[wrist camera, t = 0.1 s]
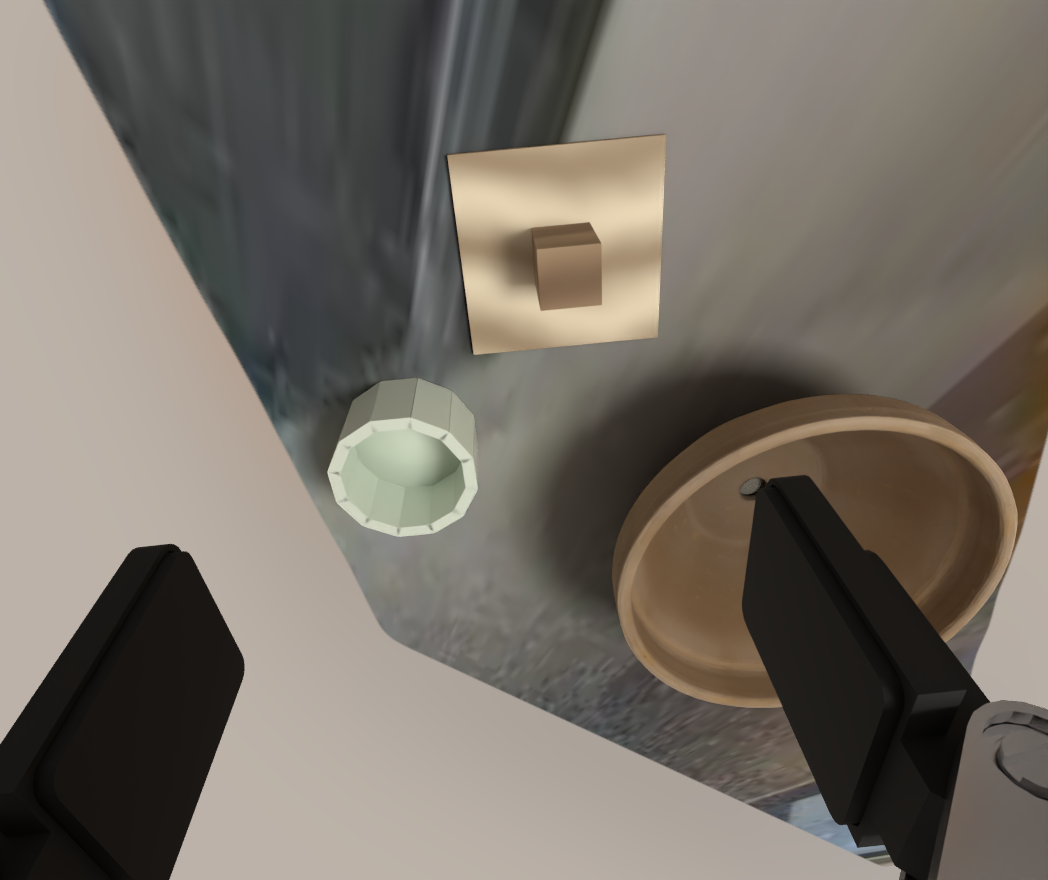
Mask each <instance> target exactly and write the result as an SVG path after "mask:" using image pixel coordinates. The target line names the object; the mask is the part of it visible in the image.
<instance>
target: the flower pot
mask: <svg viewBox="0 0 1048 880" xmlns="http://www.w3.org/2000/svg"><path fill="white" fill-rule="evenodd" d="M798 475H807V476H809V477H810V478H811V479H812V480H813V481H814V483H815V484H816V485H817V487H818V488H819V490H820V491H821V492H822V494H823V495H824V496H825V498H826V499H827V500H828V502H829V503H830V504H831V506H832V507H833V509H834V510H835V511H836V513H837V514H838V515H839V517H840V518H841V519H842V521H843V522H844V523H845V525H846V526H847V528H848V529H849V530H850V532H851V533H852V534H853V536H854V537H855V538H856V540H857V541H858V542H859V544H860V545H861V547H862V548H863V549H864V550H870V551H872V552H874V553H876V554H877V555H878V556H879V557H880V558H881V559H882V560H883V561H884V563H885V564H886V565H887V567H888V568H889V569H890V571H891V572H892V573H893V575H894V576H895V577H896V579H897V580H898V581H899V582H900V584H901V585H902V586H903V588H904V589H905V590H906V592H907V593H908V594H909V596H910V597H911V598H912V600H913V601H914V602H915V604H916V605H917V606H918V608H919V609H920V610H921V612H922V613H923V614H924V615H925V617H926V618H927V619H928V621H929V622H930V623H931V625H932V626H933V627H934V629H935V630H936V631H937V633H938V634H939V635H940V637H941V638H942V639H943V641H944V642H946V641H948V640H949V639H950V638H952V637H953V636H954V635H955V634H956V633H957V632H958V631H959V630H960V629H961V628H962V627H963V626H965V625H966V624H967V623H968V622H969V621H970V619H971V618H972V617H973V616H974V615H975V614H976V613H977V612H978V611H979V609H980V608H981V607H982V606H983V605H984V603H985V602H986V601H987V600H988V598H989V597H990V595H991V594H992V592H993V591H994V589H995V588H996V586H997V584H998V583H999V581H1000V579H1001V577H1002V576H1003V574H1004V572H1005V569H1006V567H1007V565H1008V562H1009V559H1010V556H1011V553H1012V550H1013V546H1014V542H1015V536H1016V530H1017V509H1016V505H1015V500H1014V497H1013V494H1012V491H1011V488H1010V486H1009V483H1008V481H1007V479H1006V477H1005V475H1004V474H1003V472H1002V470H1001V469H1000V468H999V467H998V465H997V464H996V463H995V462H994V461H993V460H992V459H991V458H990V457H989V455H988V454H987V453H985V452H984V451H983V450H982V449H981V448H980V447H979V446H978V445H977V444H976V443H975V442H974V441H973V440H972V439H970V438H969V437H968V436H966V435H965V434H964V433H962V432H961V431H960V430H958V429H957V428H955V427H954V426H953V425H951V424H950V423H948V422H947V421H945V420H944V419H942V418H941V417H939V416H938V415H936V414H934V413H932V412H930V411H928V410H926V409H923V408H921V407H919V406H916V405H913V404H910V403H908V402H905V401H901V400H897V399H892V398H888V397H881V396H874V395H863V394H832V395H820V396H813V397H806V398H801V399H796V400H791V401H786V402H783V403H779V404H776V405H772V406H769V407H766V408H763V409H760V410H757V411H754V412H751V413H748V414H745V415H742V416H740V417H737V418H735V419H732V420H730V421H728V422H726V423H724V424H722V425H720V426H718V427H716V428H715V429H713V430H711V431H710V432H708V433H706V434H705V435H703V436H702V437H701V438H699V439H698V440H696V441H695V442H694V443H692V444H691V445H690V446H689V447H688V448H686V449H685V450H684V451H682V452H681V453H680V454H679V455H678V456H676V457H675V458H674V459H673V460H672V461H671V462H669V463H668V464H667V465H666V466H665V467H664V468H663V469H662V470H661V471H660V472H659V473H658V474H657V475H656V476H655V477H654V478H653V480H652V481H651V482H650V483H649V484H648V485H647V487H646V488H645V489H644V490H643V492H642V493H641V494H640V496H639V497H638V499H637V500H636V502H635V503H634V505H633V507H632V508H631V510H630V511H629V513H628V515H627V517H626V519H625V521H624V523H623V526H622V528H621V530H620V533H619V536H618V539H617V542H616V546H615V550H614V556H613V565H612V583H613V591H614V597H615V603H616V608H617V613H618V617H619V621H620V624H621V627H622V630H623V633H624V636H625V639H626V641H627V643H628V645H629V647H630V648H631V650H632V651H633V653H634V654H635V656H636V657H637V658H638V660H639V661H640V662H641V663H642V664H643V665H644V666H645V667H646V668H647V669H648V670H649V671H650V672H651V673H652V674H653V675H654V676H656V677H657V678H658V679H660V680H661V681H662V682H664V683H665V684H667V685H669V686H670V687H672V688H674V689H676V690H678V691H680V692H682V693H684V694H687V695H689V696H692V697H694V698H697V699H701V700H704V701H708V702H712V703H717V704H723V705H729V706H737V707H750V708H768V707H782V705H781V702H780V700H779V698H778V696H777V693H776V691H775V689H774V687H773V684H772V682H771V680H770V678H769V675H768V673H767V671H766V669H765V666H764V664H763V662H762V660H761V657H760V655H759V653H758V651H757V648H756V646H755V644H754V642H753V639H752V637H751V635H750V633H749V630H748V628H747V626H746V623H745V621H744V617H743V612H742V596H743V589H744V582H745V574H746V567H747V559H748V552H749V544H750V537H751V529H752V522H753V514H754V507H755V500H756V494H755V495H751V496H746V495H742V494H741V493H740V490H741V487H742V486H743V484H744V483H745V482H747V481H748V480H750V479H753V478H760V479H763V480H765V485H764V487H763V488H766V486H767V483H768V481H769V479H772V478H779V477H788V476H798Z"/></svg>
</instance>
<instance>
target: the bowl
mask: <svg viewBox="0 0 1048 880" xmlns="http://www.w3.org/2000/svg"><path fill="white" fill-rule="evenodd" d="M327 473H328V477H329V480H330V483H331V486H332V490H333V493H334V496H335V499H336V502H337V504H338V505H340V506H341V507H342V508H343V509H344V510H345V511H346V512H347V513H348V514H350V515H351V516H352V517H353V518H354V519H355V520H356V521H357V522H359V523H360V524H361V525H362V526H364V527H367V528H371V529H374V530H377V531H381V532H384V533H387V534H390V535H394V536H397V537H401V536H411V535H422V534H432V533H436V532H437V531H439V530H441V529H442V528H444V527H446V526H448V525H449V524H451V523H453V522H454V521H456V520H458V519H459V518H461V517H463V516H464V514H465V512H466V510H467V508H468V507H469V505H470V503H471V501H472V499H473V497H474V495H475V494H476V492H477V490H478V441H477V434H476V427H475V419H474V415H473V414H472V413H471V412H470V411H469V410H468V409H467V407H466V406H465V405H464V404H463V403H462V402H461V400H460V399H459V398H458V397H457V396H456V395H455V394H454V392H453V391H451V390H449V389H446V388H443V387H441V386H438V385H436V384H433V383H430V382H428V381H425V380H422V379H420V378H418V379H417V378H409V379H398V380H388V381H380V382H379V383H377V384H376V385H374V386H373V387H372V388H370V389H369V390H367V391H366V392H364V393H363V394H361V395H360V396H358V397H357V398H356V399H354V400H353V401H352V404H351V407H350V409H349V412H348V415H347V417H346V420H345V422H344V425H343V428H342V431H341V433H340V436H339V439H338V442H337V445H336V448H335V451H334V454H333V457H332V460H331V463H330V465H329V468H328V471H327Z"/></svg>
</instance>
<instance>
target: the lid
mask: <svg viewBox="0 0 1048 880" xmlns="http://www.w3.org/2000/svg"><path fill="white" fill-rule="evenodd" d="M665 149H666V134H658V135H647V136H637V137H626V138H615V139H605V140H594V141H583V142H573V143H562V144H551V145H541V146H530V147H519V148H509V149H498V150H487V151H477V152H466V153H455V154H448V155H447V157H448V164H449V172H450V179H451V187H452V194H453V202H454V210H455V217H456V225H457V232H458V240H459V247H460V255H461V262H462V270H463V277H464V285H465V292H466V300H467V307H468V315H469V323H470V330H471V338H472V345H473V353H474V355H477V354H487V353H498V352H508V351H519V350H529V349H539V348H550V347H560V346H571V345H581V344H592V343H602V342H612V341H623V340H633V339H644V338H654V337H658V318H659V293H660V269H661V245H662V221H663V197H664V173H665Z"/></svg>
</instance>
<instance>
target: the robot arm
mask: <svg viewBox="0 0 1048 880" xmlns="http://www.w3.org/2000/svg"><path fill="white" fill-rule="evenodd" d="M742 612H743V617H744V621H745V623H746V626H747V628H748V630H749V633H750V635H751V637H752V639H753V642H754V644H755V646H756V648H757V651H758V653H759V655H760V657H761V660H762V662H763V664H764V666H765V669H766V671H767V673H768V675H769V678H770V680H771V682H772V684H773V687H774V689H775V691H776V693H777V696H778V698H779V700H780V702H781V705H782V707H783V709H784V711H785V714H786V716H787V718H788V720H789V722H790V725H791V727H792V729H793V731H794V734H795V736H796V738H797V740H798V743H799V745H800V747H801V749H802V752H803V754H804V756H805V758H806V761H807V763H808V765H809V767H810V770H811V772H812V774H813V776H814V779H815V781H816V783H817V785H818V788H819V790H820V792H821V794H822V797H823V799H824V801H825V803H826V806H827V808H828V810H829V812H830V814H831V816H832V818H833V819H834V821H835V822H836V823H837V824H839V825H846V824H847V826H848V828H849V830H850V832H851V834H852V837H853V839H854V841H855V843H856V845H857V848H859V847H869V846H878V845H885V847H886V849H887V851H888V853H889V855H890V857H891V859H892V861H893V863H894V865H895V866H896V867H898V868H900V869H901V873H900V878H899V880H1048V710H1047V709H1045V708H1041V707H1038V706H1035V705H1031V704H1028V703H1025V702H1017V701H1006V700H1001V701H997V702H991V703H990V701H989V700H988V699H987V698H986V696H985V695H984V693H983V692H982V691H981V690H980V688H979V687H978V685H977V684H976V683H975V682H974V680H973V679H972V678H971V676H970V675H969V674H968V672H967V671H966V670H965V668H964V667H963V666H962V664H961V663H960V662H959V660H958V659H957V658H956V656H955V655H954V654H953V652H952V651H951V650H950V649H949V647H948V646H947V645H946V643H945V642H944V641H943V639H942V638H941V637H940V635H939V634H938V633H937V631H936V630H935V629H934V627H933V626H932V625H931V623H930V622H929V621H928V619H927V618H926V617H925V615H924V614H923V613H922V612H921V610H920V609H919V608H918V606H917V605H916V604H915V602H914V601H913V600H912V598H911V597H910V596H909V594H908V593H907V592H906V590H905V589H904V588H903V586H902V585H901V584H900V582H899V581H898V580H897V579H896V577H895V576H894V575H893V573H892V572H891V571H890V569H889V568H888V567H887V565H886V564H885V563H884V561H883V560H882V559H881V558H880V557H879V556H878V555H877V554H876V553H874V552H872V551H870V550H864V549H863V548H862V547H861V545H860V544H859V542H858V541H857V540H856V538H855V537H854V536H853V534H852V533H851V532H850V530H849V529H848V528H847V526H846V525H845V523H844V522H843V521H842V519H841V518H840V517H839V515H838V514H837V513H836V511H835V510H834V509H833V507H832V506H831V504H830V503H829V502H828V500H827V499H826V498H825V496H824V495H823V494H822V492H821V491H820V490H819V488H818V487H817V485H816V484H815V483H814V481H813V480H812V479H811V478H810V477H809V476H807V475H798V476H788V477H779V478H772V479H769V481H768V483H767V486H766V488H760V489H758V491H757V494H756V500H755V507H754V514H753V522H752V529H751V537H750V544H749V552H748V559H747V567H746V574H745V582H744V589H743V596H742ZM243 676H244V659H243V656H242V654H241V652H240V650H239V648H238V646H237V644H236V642H235V640H234V638H233V636H232V634H231V632H230V631H229V628H228V627H227V624H226V623H225V621H224V619H223V617H222V615H221V613H220V611H219V609H218V607H217V605H216V603H215V601H214V599H213V598H212V595H211V594H210V591H209V589H208V587H207V585H206V584H205V582H204V580H203V578H202V576H201V574H200V572H199V570H198V568H197V566H196V564H195V562H194V560H193V558H192V557H191V555H190V554H189V553H188V552H184V551H183V552H182V551H181V550H180V549H179V547H177V546H176V545H174V544H165V545H156V546H148V547H138V548H135V549H133V550H132V551H131V552H130V553H129V554H128V555H127V557H126V558H125V560H124V561H123V563H122V564H121V566H120V567H119V569H118V570H117V572H116V573H115V575H114V576H113V578H112V579H111V581H110V582H109V584H108V585H107V586H106V588H105V589H104V591H103V592H102V594H101V595H100V597H99V599H98V600H97V601H96V603H95V604H94V606H93V607H92V609H91V610H90V612H89V613H88V615H87V616H86V618H85V619H84V621H83V622H82V624H81V625H80V627H79V628H78V630H77V631H76V633H75V634H74V636H73V637H72V639H71V640H70V642H69V643H68V645H67V646H66V648H65V649H64V650H63V652H62V653H61V655H60V656H59V658H58V660H57V661H56V662H55V664H54V665H53V667H52V668H51V670H50V671H49V673H48V674H47V676H46V677H45V679H44V680H43V682H42V683H41V685H40V686H39V688H38V689H37V691H36V692H35V694H34V695H33V696H32V698H31V699H30V701H29V703H28V704H27V705H26V707H25V709H24V710H23V712H22V713H21V714H20V716H19V717H18V719H17V720H16V722H15V723H14V725H13V726H12V728H11V729H10V731H9V732H8V734H7V735H6V737H5V738H4V740H3V741H2V743H1V744H0V880H169V879H170V876H171V873H172V871H173V868H174V865H175V862H176V860H177V857H178V854H179V851H180V849H181V846H182V843H183V841H184V838H185V835H186V832H187V830H188V827H189V824H190V822H191V819H192V816H193V813H194V811H195V808H196V805H197V802H198V800H199V797H200V794H201V791H202V789H203V786H204V783H205V781H206V778H207V775H208V772H209V770H210V767H211V764H212V762H213V759H214V756H215V753H216V750H217V748H218V745H219V743H220V740H221V737H222V734H223V731H224V729H225V726H226V723H227V721H228V718H229V715H230V713H231V709H232V707H233V704H234V702H235V699H236V696H237V693H238V691H239V688H240V685H241V683H242V680H243Z"/></svg>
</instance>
